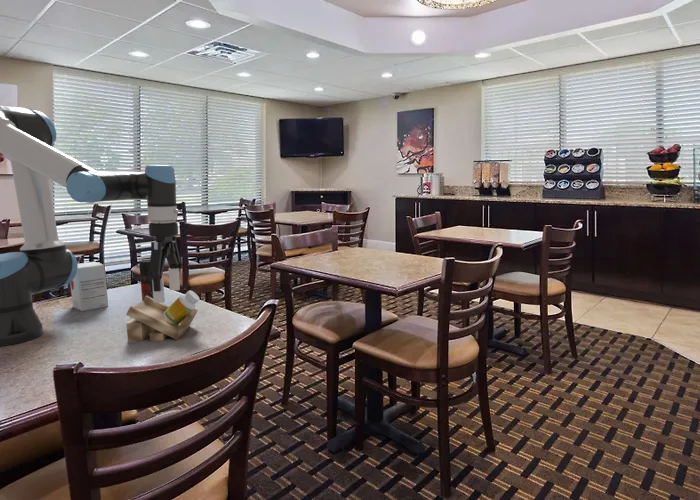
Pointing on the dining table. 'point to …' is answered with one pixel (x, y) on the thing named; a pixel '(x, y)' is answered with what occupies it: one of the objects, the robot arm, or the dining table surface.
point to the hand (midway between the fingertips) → (167, 296)
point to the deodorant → (145, 279)
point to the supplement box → (89, 287)
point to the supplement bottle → (181, 308)
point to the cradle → (154, 322)
